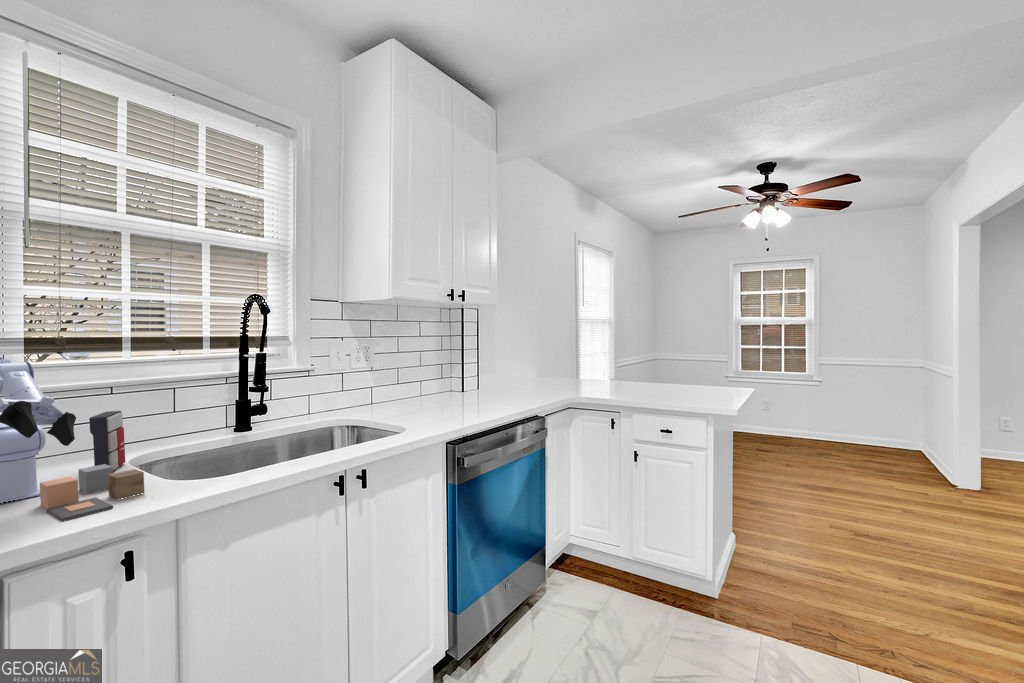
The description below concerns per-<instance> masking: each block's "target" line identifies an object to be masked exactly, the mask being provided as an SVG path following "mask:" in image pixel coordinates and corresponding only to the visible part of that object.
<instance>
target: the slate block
mask: <svg viewBox="0 0 1024 683" xmlns="http://www.w3.org/2000/svg"><path fill="white" fill-rule="evenodd" d="M77 470H78V472H77V473H78V491H80V490H81V491H80V492H82V491H83V493H84V492H85V493H84V494H86V493H88V494H91V493H90V492H92V493H96V492H95V491H97V492H100V491H99V490H101V491H105V490H109V489H108V488H109V486H108V474H113V473H114V471H113V467H111V466H109V465H106V464H103V465H98V466H95V465H94V466H93V465H92V466H88V467H83V468H78V469H77ZM104 489H105V490H104Z"/></svg>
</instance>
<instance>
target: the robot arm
mask: <svg viewBox="0 0 1024 683" xmlns="http://www.w3.org/2000/svg"><path fill="white" fill-rule="evenodd" d="M0 395H1V396H2V397H1V398H0V503H1V504H4V503H3V502H6V503H9V502H8V501H11V502H14V501H13V500H15V501H20V500H24V499H28V498H34V497H37V496H40V488H38V480H37V479H38V476H37V459H36V458H37V456H38V455H39V454H40V453H39V452H41V451H42V450H43V449H44V448H45V445H46V434H49V435H51V436H53V437H54V438H55V439H56V440H57V441H59V443H60V444H62V445H63V446H65V447H68V446H69V445H71V443H73V442H74V440H75V439H76V438H75V432H74V431H75V429H74V428H75V427H74V426H75V422H76V420H77V416H76V415H75V414H74V413H72V412H68V411H65V412H63V411H62V410H60V409H59V408H58V407H56V406H55V404H53V403H55V399H54V398H53V397H51V396H45V394H44V393H43V391H42V389H41V388H40V387H39V385H38V384H37V383H36V380H35V370H34V367H33V364H31V362H29V361H27V360H25V361H18V362H13V361H12V360H11V359H8V358H7V359H4V358H3V356H0ZM47 425H49V426H50V425H51V428H50V429H49V430H48V431H47V432H46V434H45V430H44V428H43V427H42V426H47ZM19 499H20V500H19Z"/></svg>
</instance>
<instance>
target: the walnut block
mask: <svg viewBox="0 0 1024 683" xmlns="http://www.w3.org/2000/svg"><path fill="white" fill-rule="evenodd" d="M144 475H145V474H144V471H142V470H138V469H135V468H133V469H129V470H124V471H123V470H122V471H119V472H113V474H108V486H109V489H108V496H110V498H111V497H112V498H111V499H114V498H115V499H114V500H116V499H117V500H116V501H119V500H118V499H121V498H125V497H129V496H133V495H137V494H141V493H145V477H144ZM141 495H142V494H141ZM137 496H138V495H137ZM133 497H134V496H133ZM129 498H130V497H129ZM125 499H126V498H125ZM121 500H122V499H121Z"/></svg>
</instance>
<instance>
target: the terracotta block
mask: <svg viewBox="0 0 1024 683" xmlns="http://www.w3.org/2000/svg"><path fill="white" fill-rule="evenodd" d="M39 490H40V495H39V496H40V497H39V498H40V506H41V505H42V506H41V507H43V506H44V507H45V508H44V507H43V508H44V509H46V508H47V509H48V508H52V507H56V506H61V505H65V504H69V503H73V502H78V501H80V500H79V479H77V478H75V477H72V476H65V477H60V478H56V479H51V480H46V481H40V482H39ZM47 509H46V510H47Z"/></svg>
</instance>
